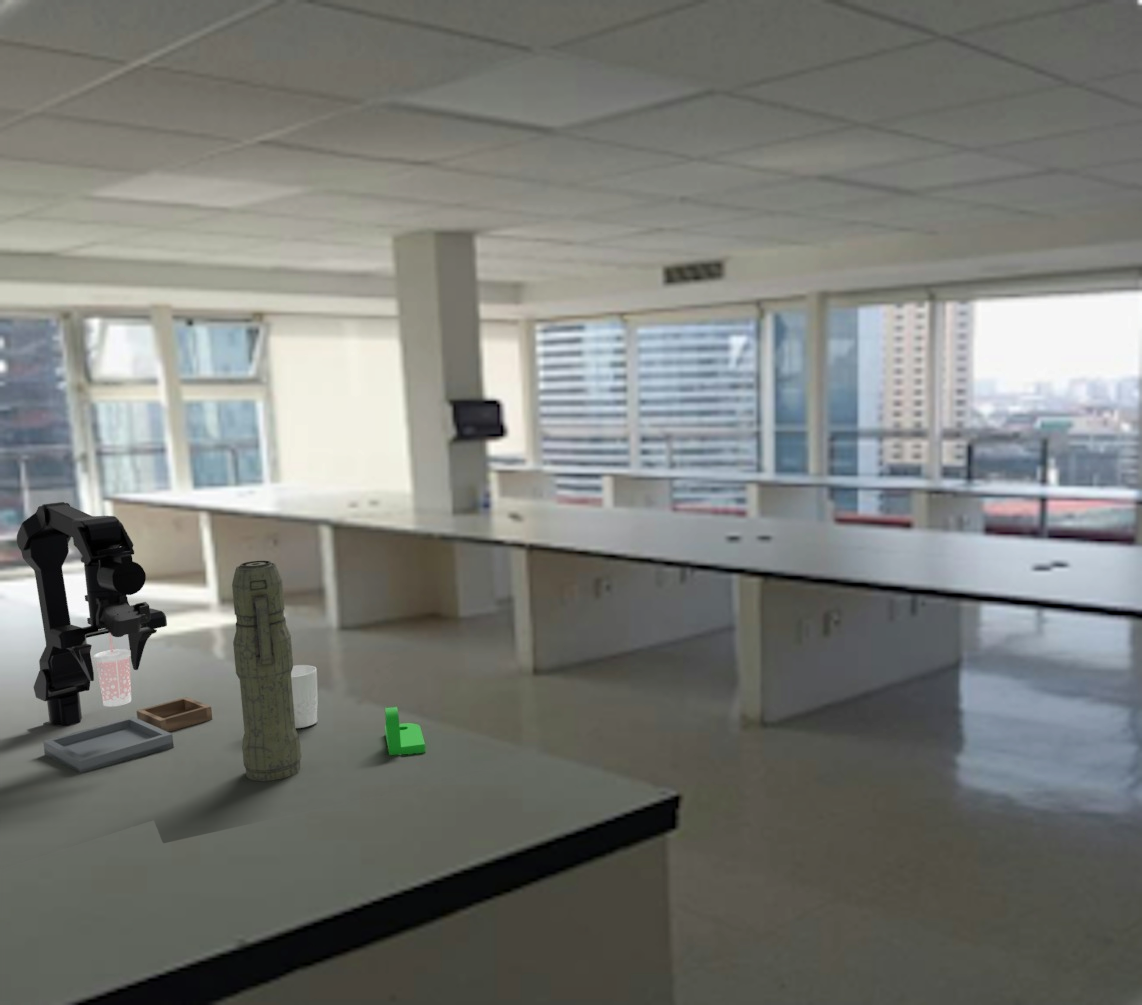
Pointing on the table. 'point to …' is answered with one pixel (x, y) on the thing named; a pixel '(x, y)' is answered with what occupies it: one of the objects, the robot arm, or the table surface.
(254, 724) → the thermos
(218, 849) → the table surface
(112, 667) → the beverage cup
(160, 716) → the square frame
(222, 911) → the table surface
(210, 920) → the table surface
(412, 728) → the mechanical part
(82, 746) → the tray
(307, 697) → the white cup
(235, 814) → the table surface
